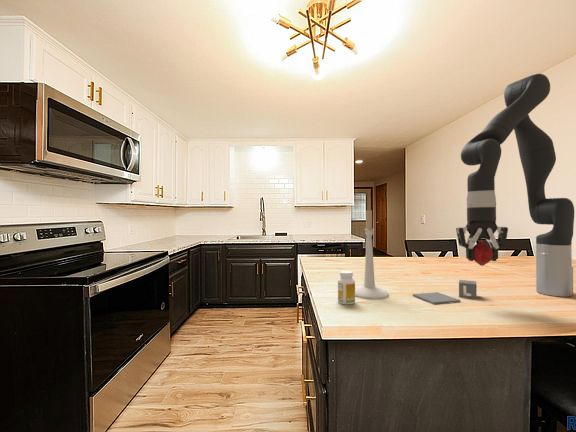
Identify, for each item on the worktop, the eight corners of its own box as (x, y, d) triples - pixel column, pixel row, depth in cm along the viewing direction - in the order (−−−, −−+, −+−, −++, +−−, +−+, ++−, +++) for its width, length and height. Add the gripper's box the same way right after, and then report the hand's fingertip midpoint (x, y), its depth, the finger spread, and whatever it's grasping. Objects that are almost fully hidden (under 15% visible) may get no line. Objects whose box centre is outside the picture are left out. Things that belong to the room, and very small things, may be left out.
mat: (437, 293, 104) (437, 292, 104) (460, 301, 94) (460, 300, 94) (412, 295, 101) (412, 294, 101) (433, 304, 92) (433, 302, 92)
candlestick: (370, 301, 95) (370, 208, 95) (343, 292, 106) (342, 209, 106) (396, 295, 102) (396, 208, 102) (368, 287, 113) (367, 209, 113)
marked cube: (459, 293, 104) (459, 279, 104) (476, 295, 101) (476, 281, 101) (458, 297, 99) (458, 282, 99) (476, 299, 97) (476, 284, 97)
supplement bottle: (356, 301, 96) (356, 271, 96) (353, 305, 91) (352, 274, 91) (340, 299, 98) (340, 269, 98) (335, 303, 93) (335, 272, 93)
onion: (497, 267, 88) (496, 240, 88) (475, 267, 89) (475, 240, 89) (488, 264, 93) (487, 239, 93) (468, 264, 94) (467, 239, 94)
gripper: (500, 205, 93) (500, 259, 94) (451, 206, 96) (452, 258, 96) (514, 205, 86) (515, 263, 86) (460, 206, 88) (461, 262, 89)
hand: (481, 260), depth 91 cm, fingers closed on onion, 5 cm apart
